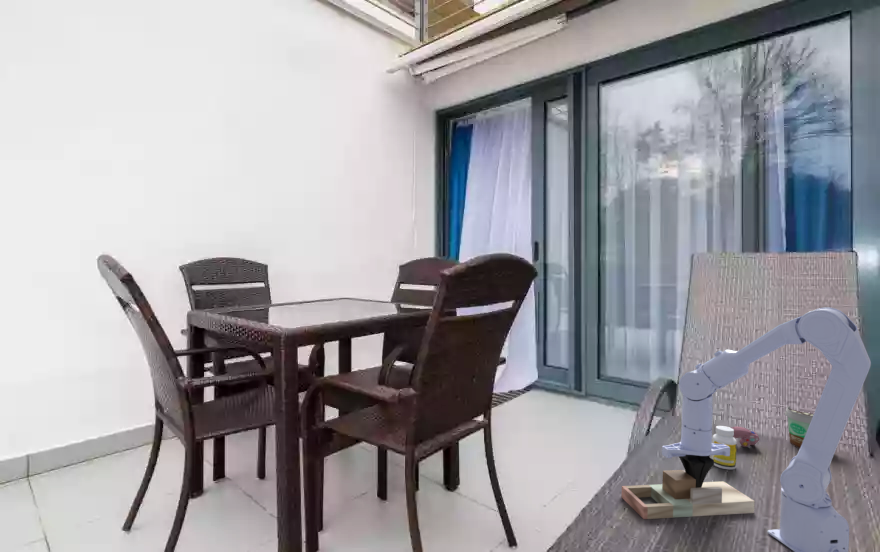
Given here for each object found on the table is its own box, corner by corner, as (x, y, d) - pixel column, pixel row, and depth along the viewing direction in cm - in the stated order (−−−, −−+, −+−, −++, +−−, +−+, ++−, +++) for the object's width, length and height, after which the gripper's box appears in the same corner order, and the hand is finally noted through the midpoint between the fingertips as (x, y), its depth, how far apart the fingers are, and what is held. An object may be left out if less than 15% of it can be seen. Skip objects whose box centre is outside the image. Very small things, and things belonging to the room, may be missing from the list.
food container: (774, 441, 133) (775, 407, 133) (786, 438, 136) (787, 405, 135) (824, 457, 122) (825, 421, 122) (836, 453, 124) (837, 418, 124)
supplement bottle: (739, 471, 113) (741, 432, 112) (716, 469, 114) (717, 431, 113) (730, 462, 118) (731, 425, 118) (707, 460, 119) (709, 423, 119)
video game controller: (718, 449, 130) (722, 431, 127) (714, 437, 134) (718, 420, 131) (758, 453, 127) (763, 436, 124) (752, 441, 131) (757, 423, 128)
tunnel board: (754, 512, 93) (754, 486, 93) (643, 519, 90) (644, 492, 90) (723, 492, 102) (724, 468, 102) (621, 497, 99) (622, 472, 99)
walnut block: (695, 498, 94) (695, 479, 94) (675, 499, 93) (675, 480, 93) (681, 487, 98) (681, 469, 98) (662, 488, 98) (662, 470, 98)
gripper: (714, 419, 101) (712, 478, 101) (654, 420, 99) (652, 481, 99) (738, 430, 94) (736, 494, 94) (674, 432, 92) (672, 497, 92)
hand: (694, 488), depth 96 cm, fingers closed
